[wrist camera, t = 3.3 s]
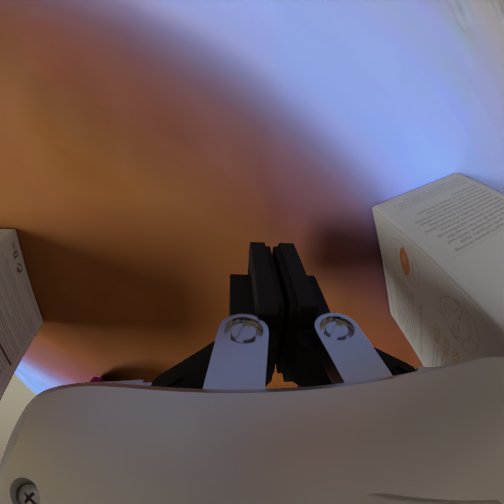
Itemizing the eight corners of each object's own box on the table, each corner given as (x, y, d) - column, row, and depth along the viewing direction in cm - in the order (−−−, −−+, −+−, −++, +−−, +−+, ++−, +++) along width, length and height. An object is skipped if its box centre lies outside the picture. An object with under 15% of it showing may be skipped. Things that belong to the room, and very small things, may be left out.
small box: (461, 276, 17) (567, 409, 5) (388, 313, 17) (477, 486, 6) (457, 167, 13) (641, 292, 1) (367, 203, 14) (560, 420, 2)
